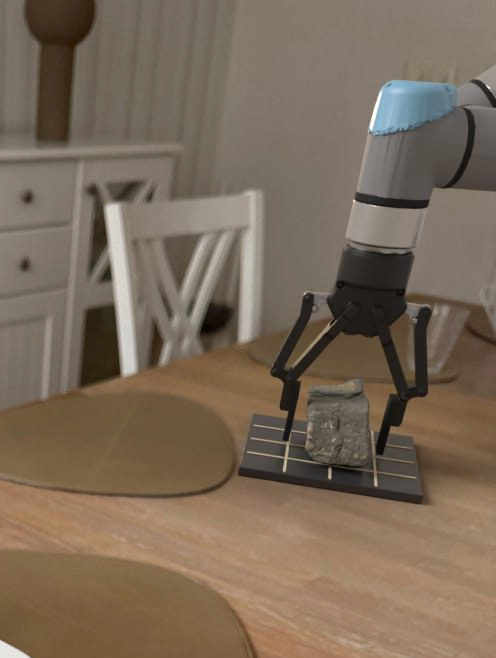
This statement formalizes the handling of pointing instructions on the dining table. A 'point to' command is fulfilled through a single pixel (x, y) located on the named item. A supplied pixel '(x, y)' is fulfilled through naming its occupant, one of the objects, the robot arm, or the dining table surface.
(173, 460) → the dining table surface
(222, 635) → the dining table surface
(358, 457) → the rock
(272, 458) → the board
